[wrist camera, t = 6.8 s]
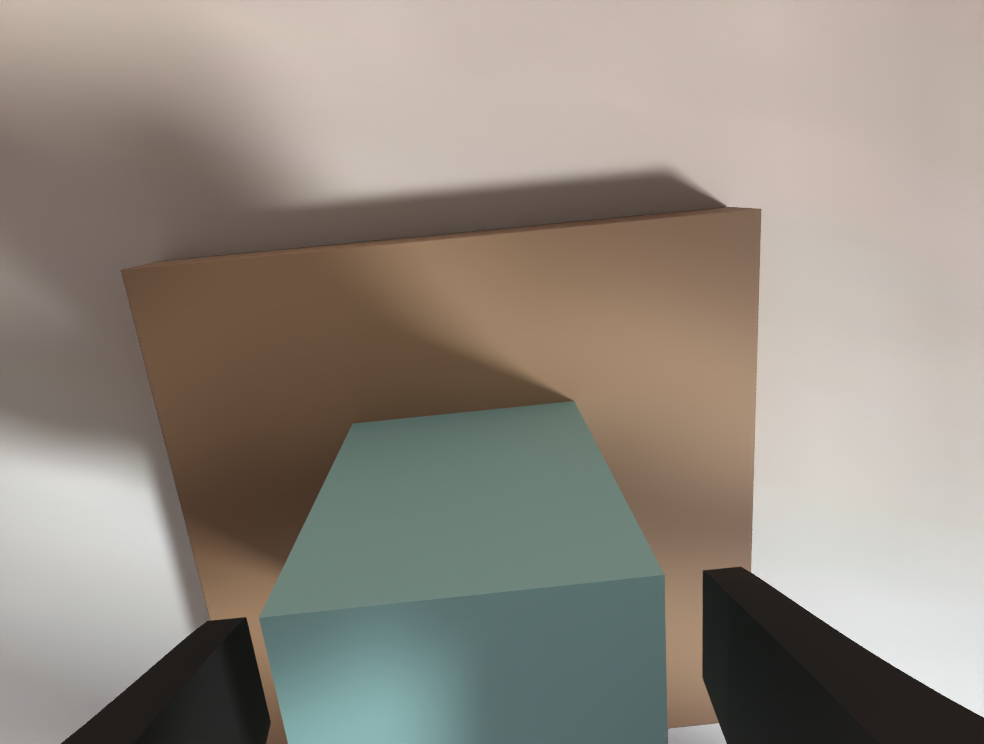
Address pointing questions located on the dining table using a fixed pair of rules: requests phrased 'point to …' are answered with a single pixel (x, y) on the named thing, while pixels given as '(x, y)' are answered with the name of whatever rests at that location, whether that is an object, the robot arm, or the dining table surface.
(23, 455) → the dining table surface
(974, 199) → the dining table surface
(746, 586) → the robot arm
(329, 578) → the teal block
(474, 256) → the walnut slab
